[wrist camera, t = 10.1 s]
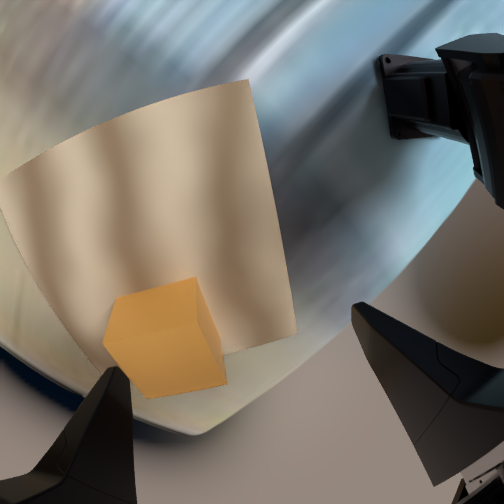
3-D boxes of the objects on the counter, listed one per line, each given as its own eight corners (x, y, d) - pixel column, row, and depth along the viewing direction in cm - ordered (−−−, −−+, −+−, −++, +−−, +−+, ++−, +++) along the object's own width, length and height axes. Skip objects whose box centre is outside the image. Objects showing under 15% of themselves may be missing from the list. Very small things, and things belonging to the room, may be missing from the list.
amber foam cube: (195, 276, 18) (197, 322, 14) (220, 338, 21) (227, 384, 17) (116, 297, 18) (102, 343, 14) (150, 354, 21) (146, 398, 17)
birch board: (243, 82, 14) (262, 69, 10) (292, 322, 24) (311, 364, 19) (3, 179, 13) (-38, 202, 9) (107, 366, 23) (99, 408, 18)
